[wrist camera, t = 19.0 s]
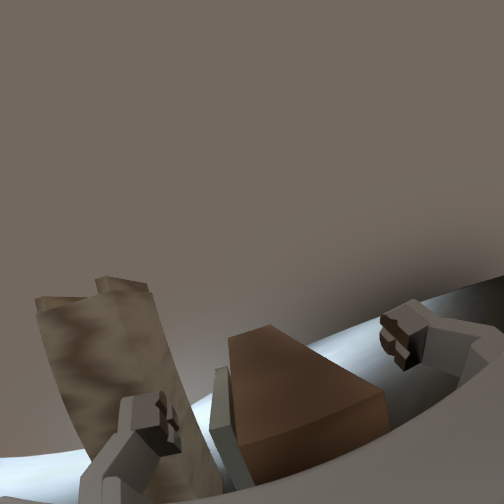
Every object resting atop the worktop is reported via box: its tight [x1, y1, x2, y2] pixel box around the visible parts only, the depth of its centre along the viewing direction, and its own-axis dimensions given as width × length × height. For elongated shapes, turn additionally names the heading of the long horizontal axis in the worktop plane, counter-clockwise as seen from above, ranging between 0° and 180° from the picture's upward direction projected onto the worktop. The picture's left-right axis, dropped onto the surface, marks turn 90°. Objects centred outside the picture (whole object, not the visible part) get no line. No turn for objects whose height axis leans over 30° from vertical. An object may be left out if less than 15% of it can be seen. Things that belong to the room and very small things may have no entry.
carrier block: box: [209, 366, 255, 491], centre depth 17 cm, size 7×12×18 cm, turn 6°
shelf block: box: [35, 276, 223, 504], centre depth 26 cm, size 8×13×27 cm, turn 6°
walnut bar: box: [228, 325, 391, 486], centre depth 14 cm, size 4×18×4 cm, turn 6°
